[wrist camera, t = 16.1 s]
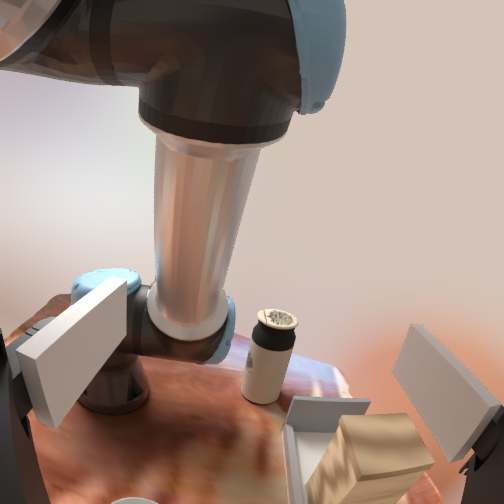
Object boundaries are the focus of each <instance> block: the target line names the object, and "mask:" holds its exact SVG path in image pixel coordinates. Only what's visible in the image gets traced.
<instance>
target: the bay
mask: <svg viewBox="0 0 504 504" xmlns="http://www.w3.org/2000/svg"><path fill="white" fill-rule="evenodd" d="M370 403H371V401H370V399H358V398H324V397H307V396H293V399H292V402H291V404H290V407H289V410H288V413H287V416H286V419H285V421H284V424H283V427H282V429H281V434H282V445H283V455H284V466H285V477H286V488H287V499H288V504H308V503H307V496H306V489H305V485H306V483H307V481H308V480H309V478H310V477H311V475H312V473H313V472H314V470H315V468H316V467H317V465H318V463H319V462H320V460H321V458H322V456H323V455H324V453H325V451H326V449H327V447H328V446H329V444H330V442H331V440H332V438H333V436H334V434H335V432H336V430H337V429H338V427H339V420H340V418H341V416H342V415H364V414H365V412H366V410H367V408H368V407H369V405H370Z"/></svg>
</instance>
